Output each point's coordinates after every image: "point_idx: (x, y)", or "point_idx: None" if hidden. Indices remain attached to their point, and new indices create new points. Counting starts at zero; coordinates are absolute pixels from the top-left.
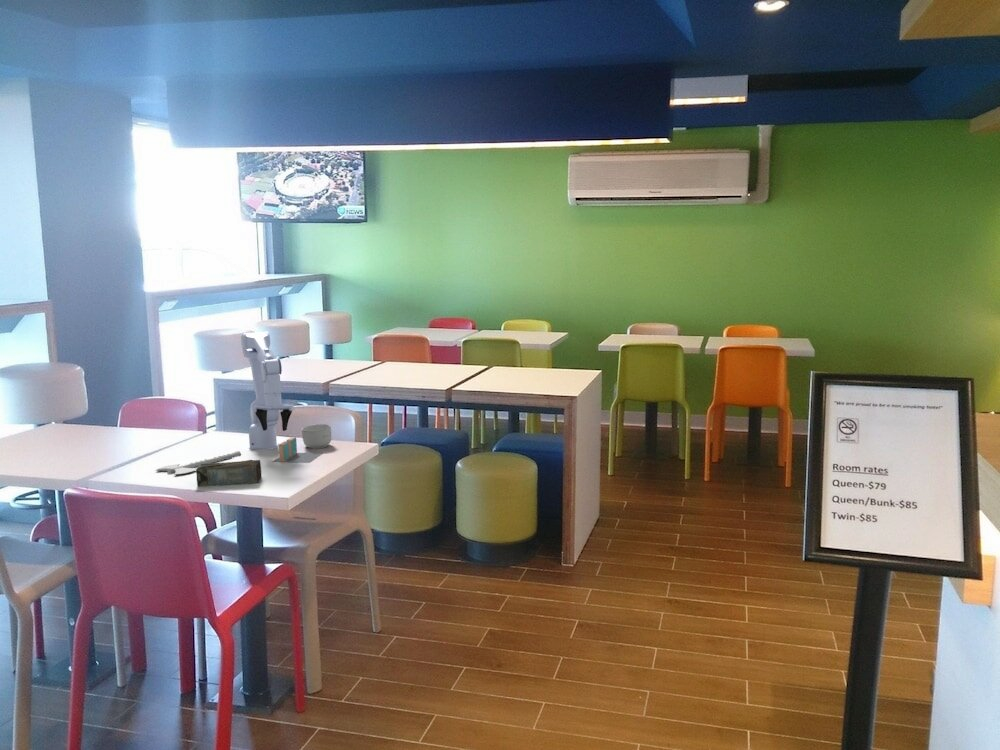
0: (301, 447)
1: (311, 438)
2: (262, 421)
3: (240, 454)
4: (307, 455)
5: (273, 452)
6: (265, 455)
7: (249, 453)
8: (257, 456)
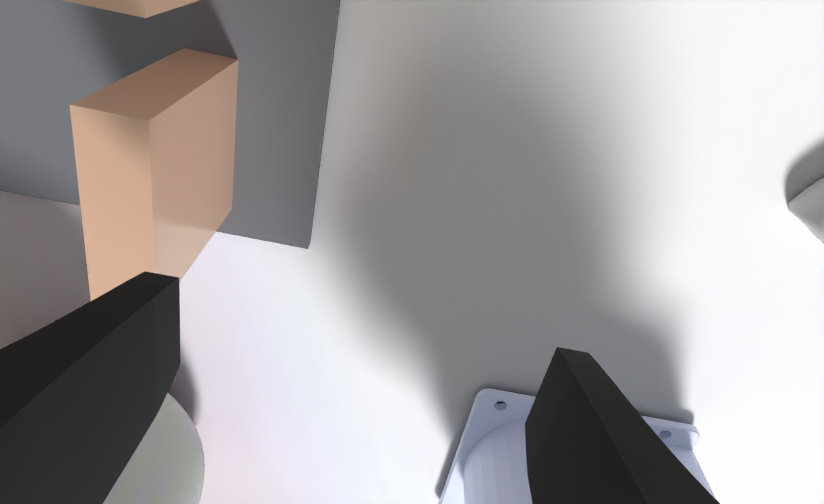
0: (247, 425)
1: None
2: (651, 493)
3: (801, 204)
4: (15, 81)
5: (456, 304)
6: (519, 200)
7: (690, 300)
8: (602, 169)
